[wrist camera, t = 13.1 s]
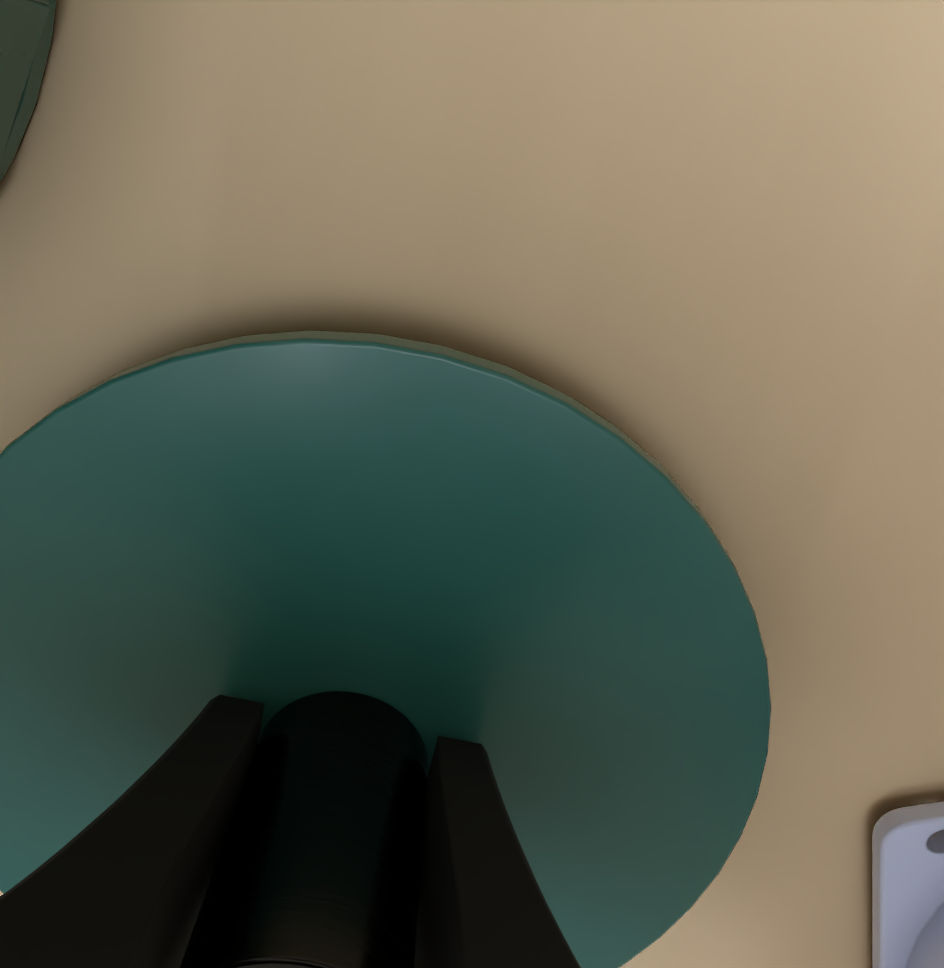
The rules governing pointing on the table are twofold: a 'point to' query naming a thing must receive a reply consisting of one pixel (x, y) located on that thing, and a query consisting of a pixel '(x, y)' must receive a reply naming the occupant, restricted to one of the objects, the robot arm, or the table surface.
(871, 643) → the table surface
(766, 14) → the table surface
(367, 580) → the lid
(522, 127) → the table surface
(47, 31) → the tin
